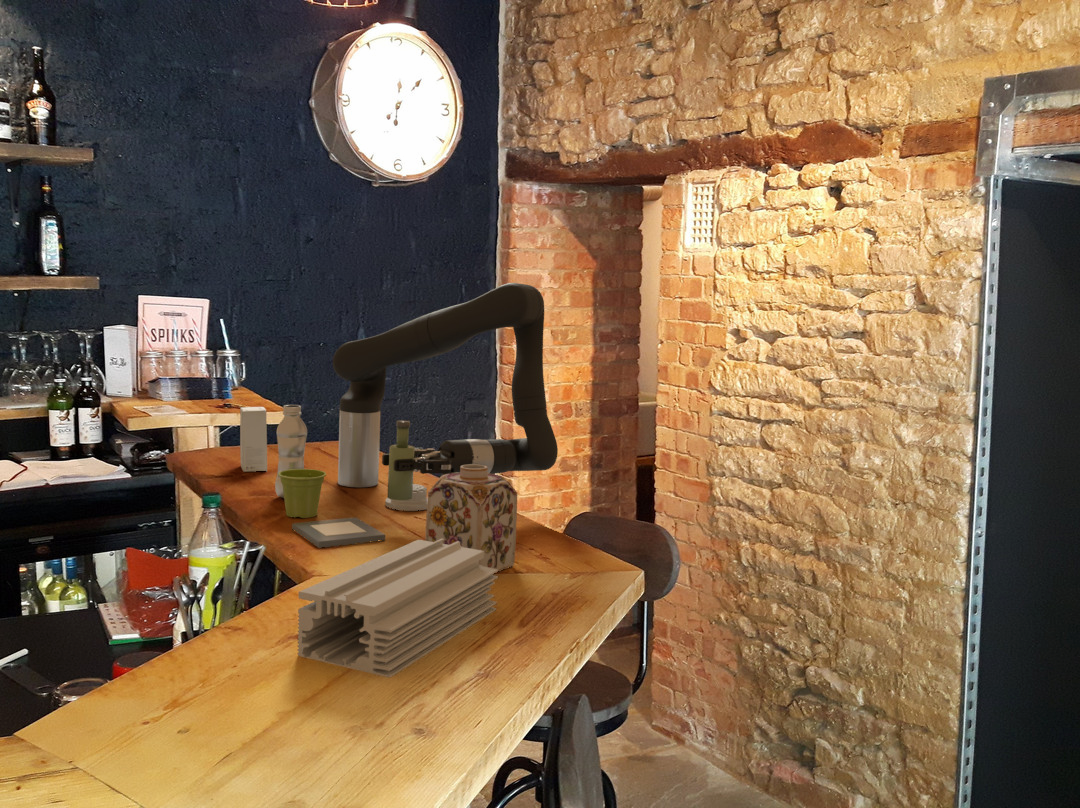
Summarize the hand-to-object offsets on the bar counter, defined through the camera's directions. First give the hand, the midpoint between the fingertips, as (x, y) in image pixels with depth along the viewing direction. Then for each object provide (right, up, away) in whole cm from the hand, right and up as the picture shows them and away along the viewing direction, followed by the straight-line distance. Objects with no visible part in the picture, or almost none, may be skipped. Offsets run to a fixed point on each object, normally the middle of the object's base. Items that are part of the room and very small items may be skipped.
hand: (389, 462), depth 202 cm
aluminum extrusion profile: (+10, -22, -52) cm, 57 cm away
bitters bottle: (+2, -7, +2) cm, 7 cm away
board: (-9, -13, -4) cm, 17 cm away
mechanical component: (+1, -11, +22) cm, 25 cm away
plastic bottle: (-25, -9, +24) cm, 35 cm away
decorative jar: (+17, -17, -20) cm, 31 cm away
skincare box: (-40, -5, +51) cm, 65 cm away
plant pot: (-19, -11, +10) cm, 24 cm away
